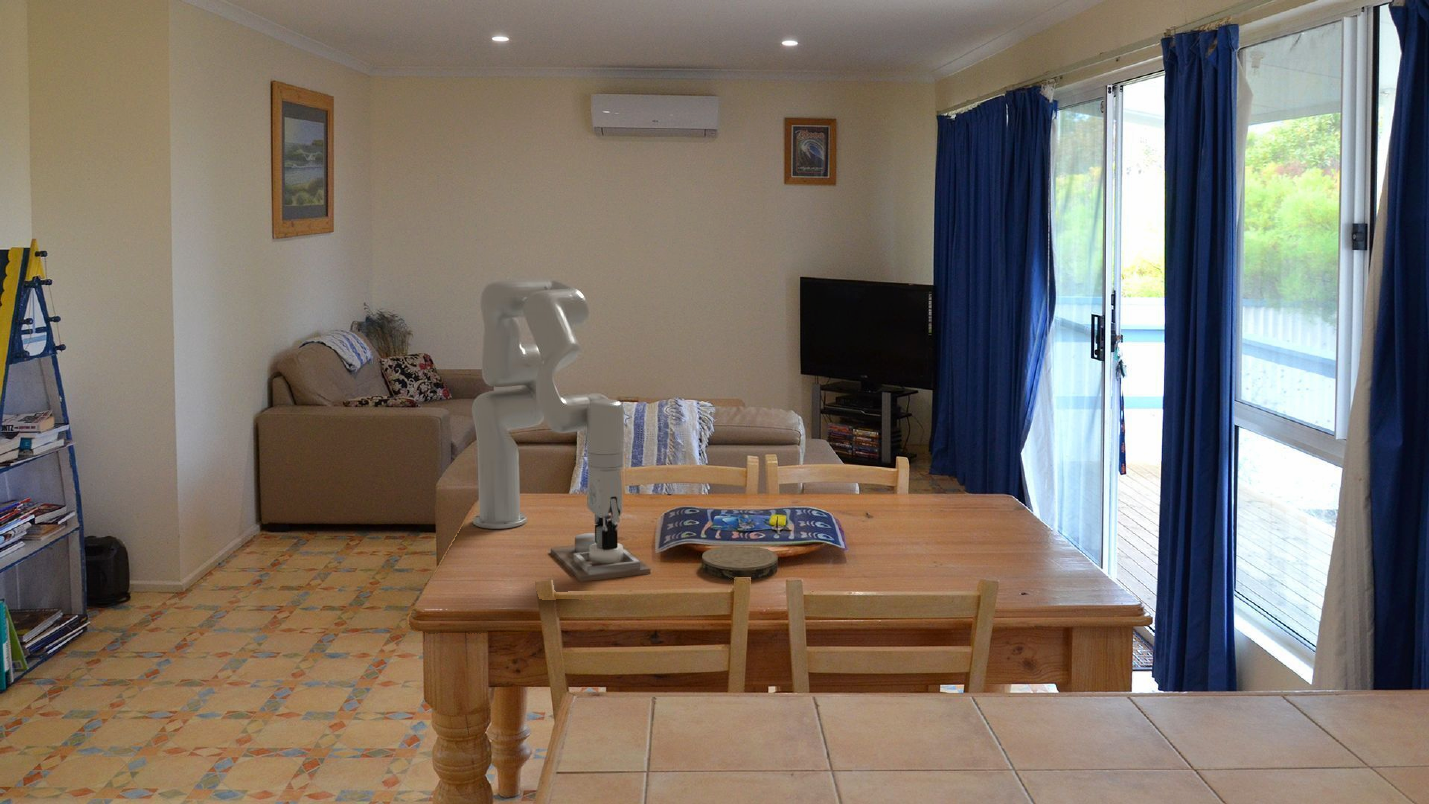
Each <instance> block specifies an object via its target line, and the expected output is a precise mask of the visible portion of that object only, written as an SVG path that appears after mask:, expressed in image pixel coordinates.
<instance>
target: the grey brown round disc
mask: <svg viewBox="0 0 1429 804" xmlns="http://www.w3.org/2000/svg"><path fill="white" fill-rule="evenodd" d="M742 546H743V545H742ZM742 546H740V547H734V546H733V545H722V546H718V547H713V548H710V549H707V550H706V551H704V552H703V553H702V556H701V571H702V572H703V573H704V574H706V575H707V576H710V577H713V578H716V579H721V580H725V581H726V580H728V581H735V580H734V578H735V577H751V579H752V580H751V581H756V580H762V579H767V578H769V577H772V576H774V575H775V574H776V573H777V572H778V564H779V563H778V561H779V560H778V559H779V557H778V554H777V553H776V552H775V551H774V550H773V551H772V550H770V549H768V548H765V547H760V546H754V547H742Z"/></svg>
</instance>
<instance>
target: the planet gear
mask: <svg viewBox="0 0 1429 804" xmlns="http://www.w3.org/2000/svg"><path fill="white" fill-rule="evenodd" d="M603 530H604V529H603V526H599V527H597V528H596V542H597V544H596V543H595V544H592V545H590V546H589V559H590V560H591V561H592V562H596V563H615V562H619V561H621V560H622V559H623V547H624V545H623V544H621V543H619V542H618V547H617V548H616V549H608V550H603V549H602V531H603Z"/></svg>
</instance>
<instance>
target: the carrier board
mask: <svg viewBox="0 0 1429 804" xmlns="http://www.w3.org/2000/svg"><path fill="white" fill-rule="evenodd" d="M592 544H595V532H587V533H581V534H577V535H575V537H574V544H573V545H566V546H563V545H562V546H555V547H550V554H552V555H553V556H554V557H555V558H556V560H558V561H559V562H560V563H561V564H562V565H563V566H564V568H565V569H566V570H568V572H569V573H571V574H572V575H573V576H574V577H575V578H576V579H577V580H578V581H579V582H580V583H583V582H584V583H585V582H591V581H599V580H600V581H601V580H607V579H616V578H621V577H622V578H623V577H631V576H632V577H633V576H640V575H647V574H651V568H650V567H649V566H648V565H647V564H645V562H643V561H642V560H641V559H639V558H638V557H636V556H635V555H634V554H633V553H632V552H631V551H629V550H628V549H627V548H625V546H623V559H622V560H621V561H619V562H615V563H596V562H592V561H591V560H590V559H589V546H590V545H592Z"/></svg>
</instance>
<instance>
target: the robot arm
mask: <svg viewBox="0 0 1429 804" xmlns="http://www.w3.org/2000/svg"><path fill="white" fill-rule="evenodd" d="M585 297H586V296H585V295H584V294H583V293H582V292H581V291H580V290H579V289H577V288H576V287H573V286H571V285H568V284H566V283H563V282H561V281H558V280H556V279H553V278H531V279H529V278H526V279H523V278H519V279H505V280H504V279H503V280H496V281H493V282H490V283H488V284H487V285H486V286H485V287H484V288H483V291H482V292H481V296H480V310H481V317H482V320H483V339H482V341H483V343H482V359H481V377H482V379H483V381H484V383H485V384H486V385H487V386H490V387H493V388H503V387H504V388H506V387H516V386H521V387H520V388H519V387H518V388H511V389H498V390H490V391H486V392H483V393H481V394H479V395H478V396H477V397H476V398H475V399H474V400H473V403H472V405H471V414H472V420H473V424H474V429H475V436H476V444H477V445H476V447H477V449H476V450H477V476H478V477H477V478H478V480H477V481H478V483H477V484H478V512H479V513H478V514H476V515H474V516H473V518H472V524H473V525H474V526H475V527H478V528H481V529H482V528H483V529H491V530H494V529H495V530H500V529H511V528H516V527H520V526H522V525H524V524H525V523H526V522H527V521H528V520H527V519H528V517H527V515H526V514H524V513H522V512H521V504H520V503H521V502H520V500H521V499H520V496H521V495H520V494H521V493H520V462H519V461H520V457H519V447H518V444H517V443H516V441H515V440H514V439H513V437H512V436H511V434H510V433H509V432H510V431H513V430H518V429H526V428H528V429H529V428H532V427H537V426H539V425H541V424H542V422H543V421H545V423H546V424H547V426H548V427H549V428H550V430H552V431H553V432H555V433H558V434H567V433H574V432H581V431H586V451H587V452H586V455H587V456H586V458H587V459H586V461H587V462H586V463H587V466H586V467H587V469H588V472H587V473H588V475H587V486H586V487H587V488H586V489H587V491H586V507H587V509H588V510H589V511H590V512H592V513H593V514H594V533H595V543H596V544H597V542H596V528H597V527H599V526H603V529H604V530H603V531H602V549H603V550H608V549H616V548H617V547H618V543H619V541H618V530H619V526H618V524H619V523H620V516H621V515H622V514H623V505H624V504H623V499H624V498H623V483H622V481H623V480H622V472H621V471H622V470H621V469H623V468H624V466H625V447H624V445H625V444H624V443H625V442H624V441H625V438H624V437H625V436H624V435H625V432H624V431H625V430H624V429H625V427H624V426H625V423H624V422H625V420H624V419H625V415H624V414H625V413H624V412H625V411H624V405H623V403H622V401H619V400H616V399H611V398H608V397H607V396H606V395H603V394H602V393H594V392H593V393H585V394H572V395H565V396H561V395H560V393H559V391H558V388H557V386H556V382H555V373H557V372H559V371H560V370H562V369H564V368H565V367H566V366H569V365H570V364H571V363H572V362H574V361H575V360H576V359H577V358H578V357H579V356H580V353H581V345H580V343H579V341H578V339H577V337H576V334H575V331H574V329H573V328H577V327H581V326H583V325H585V324H586V322H587V321H588V320H589V314H590V309H589V305H588V301H587V299H586V298H585ZM517 318H525V321H526V323H527V325H528V329H529V330H530V333H531V336H532V338H533V341H534V342H535V343H523V344H522V327H521V324H520V322H519V320H518V319H517Z"/></svg>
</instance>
